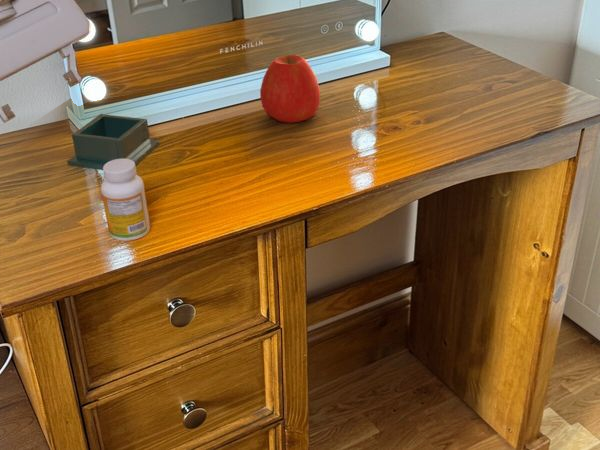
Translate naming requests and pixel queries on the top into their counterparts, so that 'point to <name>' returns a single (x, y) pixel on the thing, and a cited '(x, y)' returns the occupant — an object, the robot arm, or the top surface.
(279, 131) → the top surface
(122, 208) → the supplement bottle
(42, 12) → the robot arm
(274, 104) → the apple
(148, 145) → the bottle holder
